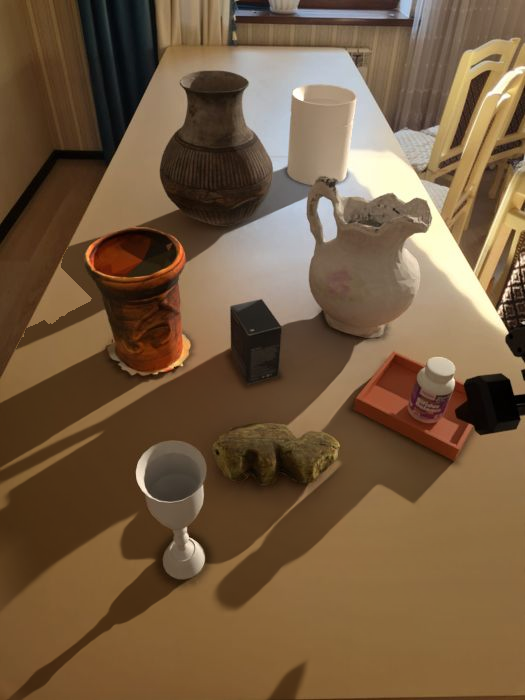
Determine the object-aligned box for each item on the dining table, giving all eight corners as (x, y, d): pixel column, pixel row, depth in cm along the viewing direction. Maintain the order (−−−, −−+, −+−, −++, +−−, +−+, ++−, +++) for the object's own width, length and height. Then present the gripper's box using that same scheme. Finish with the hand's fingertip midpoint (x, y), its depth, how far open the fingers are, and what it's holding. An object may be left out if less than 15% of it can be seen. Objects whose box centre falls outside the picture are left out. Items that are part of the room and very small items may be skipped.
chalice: (148, 542, 66) (128, 452, 54) (201, 522, 68) (193, 432, 56) (164, 598, 61) (146, 513, 49) (221, 575, 63) (217, 488, 51)
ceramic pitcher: (278, 333, 98) (283, 213, 80) (309, 270, 110) (319, 154, 92) (397, 364, 93) (431, 243, 75) (416, 294, 105) (448, 177, 87)
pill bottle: (409, 423, 80) (424, 377, 74) (404, 397, 84) (418, 351, 78) (445, 426, 80) (464, 380, 74) (439, 399, 84) (456, 354, 78)
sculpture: (209, 464, 68) (214, 413, 76) (209, 493, 71) (214, 441, 79) (348, 467, 68) (338, 416, 77) (343, 495, 71) (334, 443, 80)
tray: (484, 405, 85) (490, 394, 83) (454, 461, 76) (459, 449, 75) (390, 362, 91) (393, 350, 90) (353, 409, 83) (355, 397, 81)
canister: (275, 174, 144) (279, 95, 131) (306, 155, 154) (313, 80, 141) (327, 191, 138) (337, 110, 124) (356, 170, 148) (368, 92, 134)
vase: (252, 188, 138) (254, 59, 118) (285, 236, 121) (295, 95, 100) (156, 200, 132) (141, 66, 111) (177, 253, 114) (163, 105, 94)
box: (279, 376, 88) (282, 326, 81) (247, 385, 86) (247, 335, 79) (260, 346, 93) (262, 297, 86) (229, 354, 92) (229, 305, 84)
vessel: (125, 394, 84) (103, 290, 71) (94, 342, 93) (69, 240, 79) (207, 362, 90) (201, 260, 77) (171, 315, 99) (160, 216, 85)
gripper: (632, 305, 60) (520, 344, 74) (508, 311, 53) (410, 353, 67) (664, 404, 58) (543, 425, 72) (540, 425, 50) (431, 443, 64)
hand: (484, 409), depth 68 cm, fingers open, 9 cm apart
